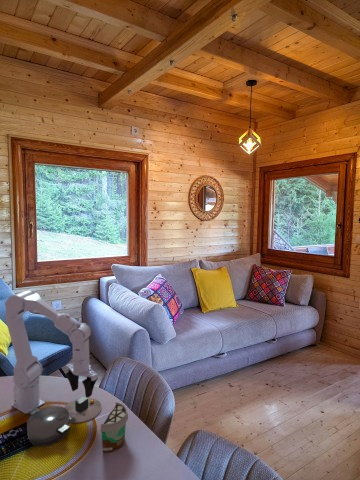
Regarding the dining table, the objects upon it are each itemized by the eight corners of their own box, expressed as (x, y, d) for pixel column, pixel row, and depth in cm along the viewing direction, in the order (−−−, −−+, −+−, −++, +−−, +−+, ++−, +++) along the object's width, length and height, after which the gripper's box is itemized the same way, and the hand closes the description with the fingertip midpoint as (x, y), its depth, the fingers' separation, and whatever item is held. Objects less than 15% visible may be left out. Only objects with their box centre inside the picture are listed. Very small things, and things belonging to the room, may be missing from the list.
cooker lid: (53, 414, 116) (53, 403, 116) (84, 396, 128) (83, 385, 128) (79, 429, 109) (79, 416, 108) (109, 408, 121) (108, 396, 120)
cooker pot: (14, 433, 106) (14, 418, 105) (49, 412, 117) (48, 399, 116) (48, 455, 96) (47, 440, 96) (82, 430, 107) (82, 417, 107)
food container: (119, 459, 95) (119, 428, 94) (100, 456, 96) (100, 425, 96) (133, 431, 107) (133, 403, 106) (116, 428, 108) (116, 401, 108)
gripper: (103, 358, 116) (103, 393, 117) (76, 349, 124) (77, 382, 125) (88, 366, 110) (88, 403, 111) (61, 356, 118) (62, 390, 119)
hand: (81, 393), depth 118 cm, fingers open, 7 cm apart
